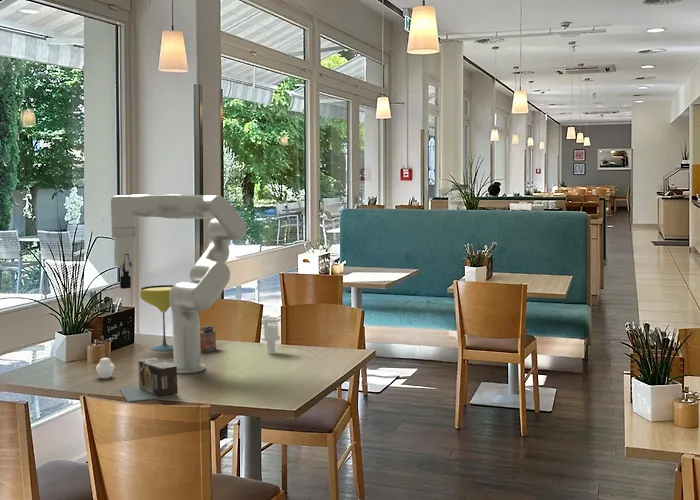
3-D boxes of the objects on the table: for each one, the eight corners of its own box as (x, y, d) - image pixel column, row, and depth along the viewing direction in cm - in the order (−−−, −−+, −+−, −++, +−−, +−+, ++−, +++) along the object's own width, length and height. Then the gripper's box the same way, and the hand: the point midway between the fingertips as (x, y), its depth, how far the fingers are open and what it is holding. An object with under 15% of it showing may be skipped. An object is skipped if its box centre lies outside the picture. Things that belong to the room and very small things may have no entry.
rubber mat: (119, 389, 248) (119, 388, 248) (163, 384, 254) (163, 383, 254) (127, 402, 233) (127, 401, 233) (173, 396, 239) (173, 395, 239)
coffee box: (137, 360, 248) (158, 368, 236) (156, 357, 252) (177, 365, 240) (138, 387, 249) (159, 397, 236) (156, 384, 253) (178, 394, 240)
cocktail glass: (152, 343, 323) (150, 284, 321) (193, 344, 321) (191, 285, 319) (134, 352, 305) (132, 290, 303) (177, 353, 303) (176, 290, 301)
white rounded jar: (95, 376, 267) (94, 356, 266) (113, 374, 269) (113, 354, 269) (97, 380, 261) (96, 359, 261) (115, 378, 264) (115, 358, 263)
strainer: (268, 350, 306) (267, 313, 305) (283, 352, 303) (282, 314, 302) (258, 354, 300) (258, 316, 299) (274, 355, 297) (273, 317, 296)
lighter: (212, 348, 313) (211, 324, 312) (218, 349, 311) (217, 324, 310) (197, 351, 306) (197, 327, 305) (203, 352, 304) (203, 327, 303)
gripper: (109, 232, 258) (110, 286, 260) (115, 234, 245) (116, 291, 246) (131, 231, 261) (133, 285, 263) (139, 233, 248) (140, 289, 249)
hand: (125, 287), depth 254 cm, fingers closed
